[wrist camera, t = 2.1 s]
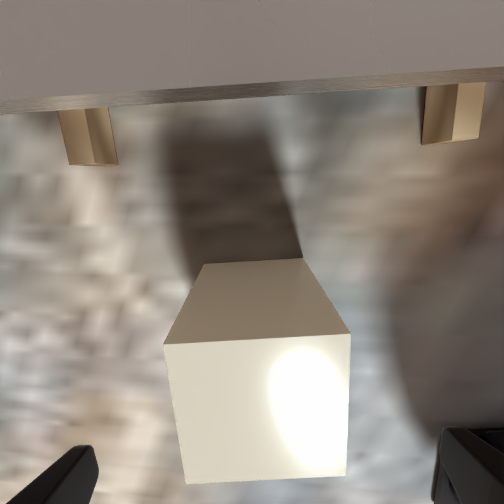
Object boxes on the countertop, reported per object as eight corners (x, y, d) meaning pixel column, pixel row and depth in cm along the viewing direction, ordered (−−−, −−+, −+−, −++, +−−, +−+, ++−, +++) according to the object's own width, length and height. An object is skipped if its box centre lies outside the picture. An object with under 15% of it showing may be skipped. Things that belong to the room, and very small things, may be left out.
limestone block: (304, 344, 16) (345, 475, 9) (213, 349, 16) (185, 483, 9) (303, 257, 14) (351, 333, 7) (204, 263, 14) (163, 344, 8)
